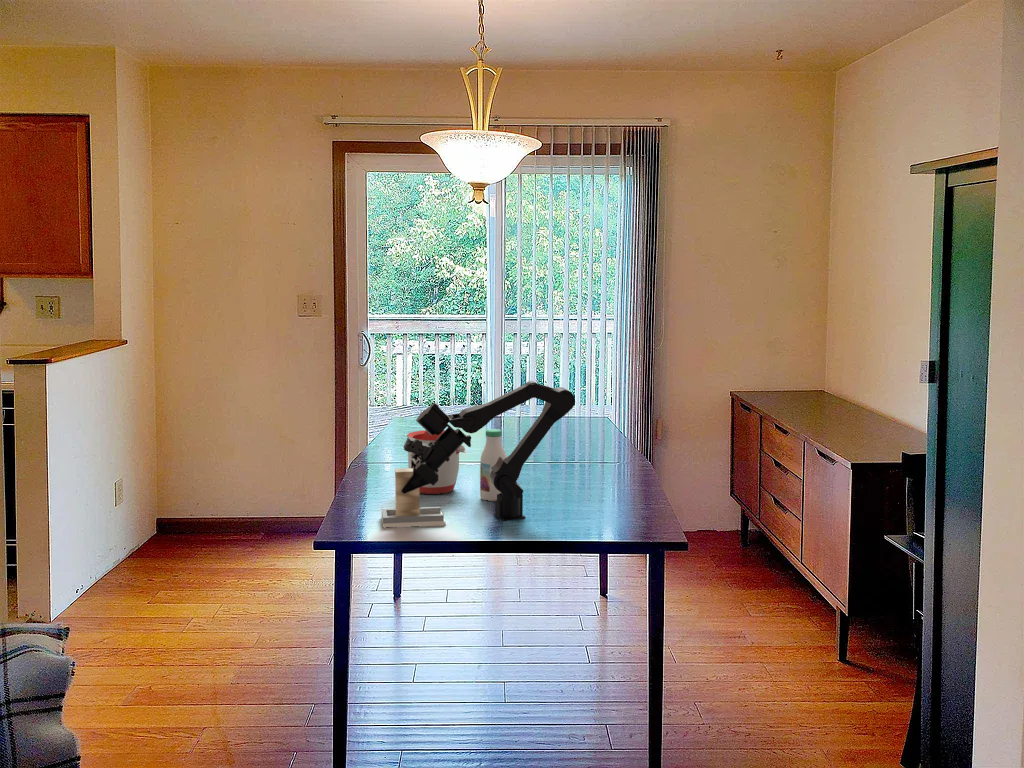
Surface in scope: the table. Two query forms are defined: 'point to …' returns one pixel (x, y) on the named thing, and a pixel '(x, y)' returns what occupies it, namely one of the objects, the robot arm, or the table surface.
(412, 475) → the robot arm
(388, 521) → the track board
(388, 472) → the table surface
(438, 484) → the citrus juicer
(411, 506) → the upright wooden block
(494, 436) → the milk bottle
